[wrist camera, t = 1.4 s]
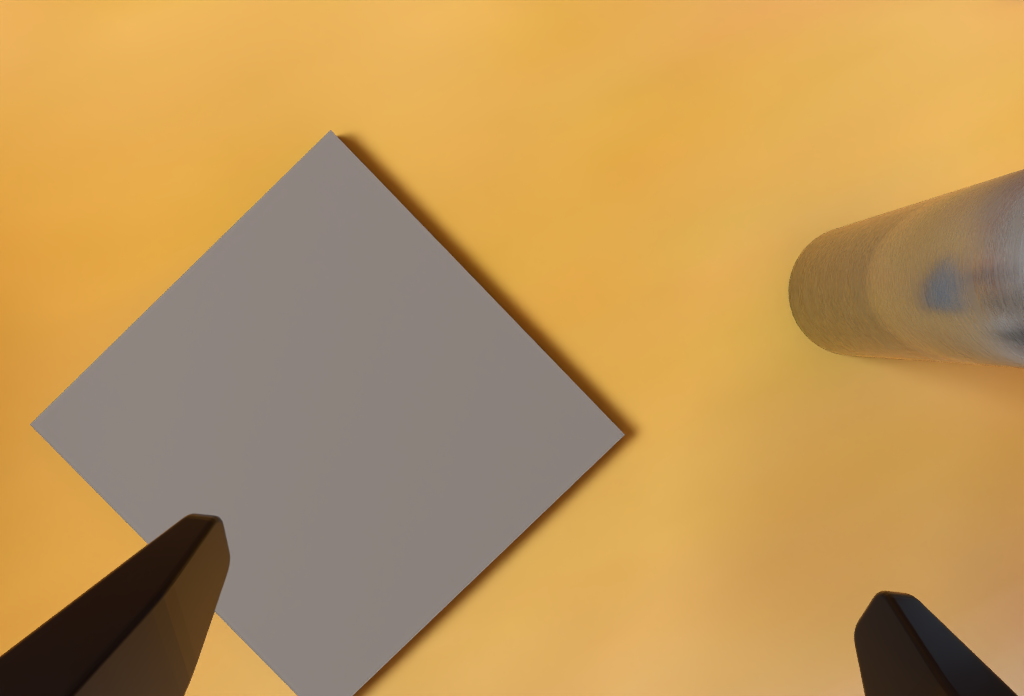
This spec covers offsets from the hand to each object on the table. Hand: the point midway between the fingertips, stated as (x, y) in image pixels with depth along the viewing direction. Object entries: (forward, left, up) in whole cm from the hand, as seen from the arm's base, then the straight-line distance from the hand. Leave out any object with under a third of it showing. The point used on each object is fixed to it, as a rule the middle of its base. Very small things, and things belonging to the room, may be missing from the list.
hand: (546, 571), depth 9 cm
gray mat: (+5, +5, -14) cm, 15 cm away
